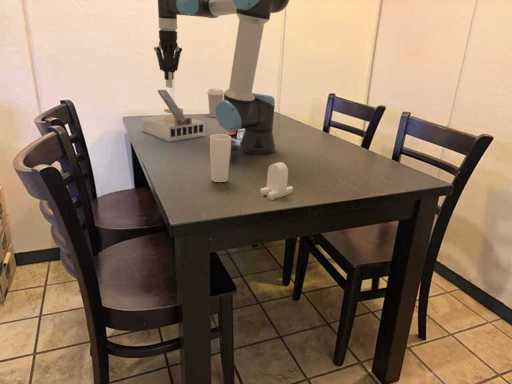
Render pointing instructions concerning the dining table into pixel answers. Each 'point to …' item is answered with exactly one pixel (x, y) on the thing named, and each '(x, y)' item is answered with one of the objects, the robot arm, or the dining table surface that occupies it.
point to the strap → (172, 106)
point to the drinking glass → (220, 156)
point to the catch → (171, 112)
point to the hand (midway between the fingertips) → (169, 87)
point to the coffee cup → (214, 100)
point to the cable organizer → (277, 180)
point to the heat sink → (172, 127)
